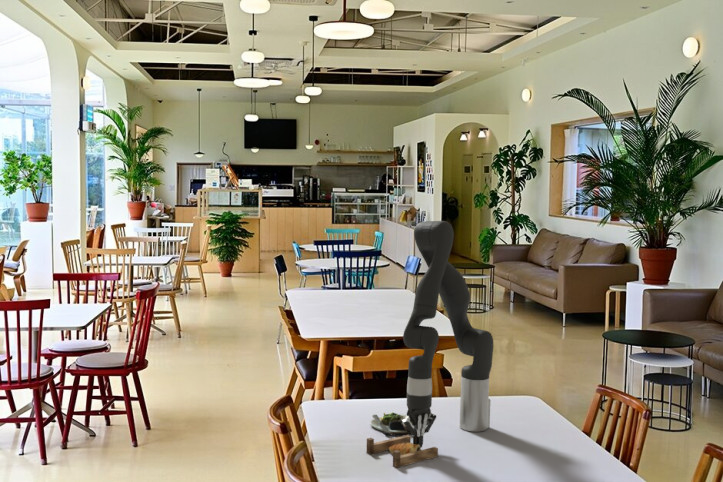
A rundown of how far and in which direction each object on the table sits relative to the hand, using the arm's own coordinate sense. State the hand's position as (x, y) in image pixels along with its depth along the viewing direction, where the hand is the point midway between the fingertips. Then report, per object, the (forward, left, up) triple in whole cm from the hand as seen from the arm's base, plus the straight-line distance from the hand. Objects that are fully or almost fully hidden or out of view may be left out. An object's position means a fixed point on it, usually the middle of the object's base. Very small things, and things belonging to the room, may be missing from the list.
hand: (417, 447), depth 229 cm
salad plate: (-9, -20, -2) cm, 22 cm away
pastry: (+5, +1, -2) cm, 5 cm away
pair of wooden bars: (+6, 0, -1) cm, 6 cm away
